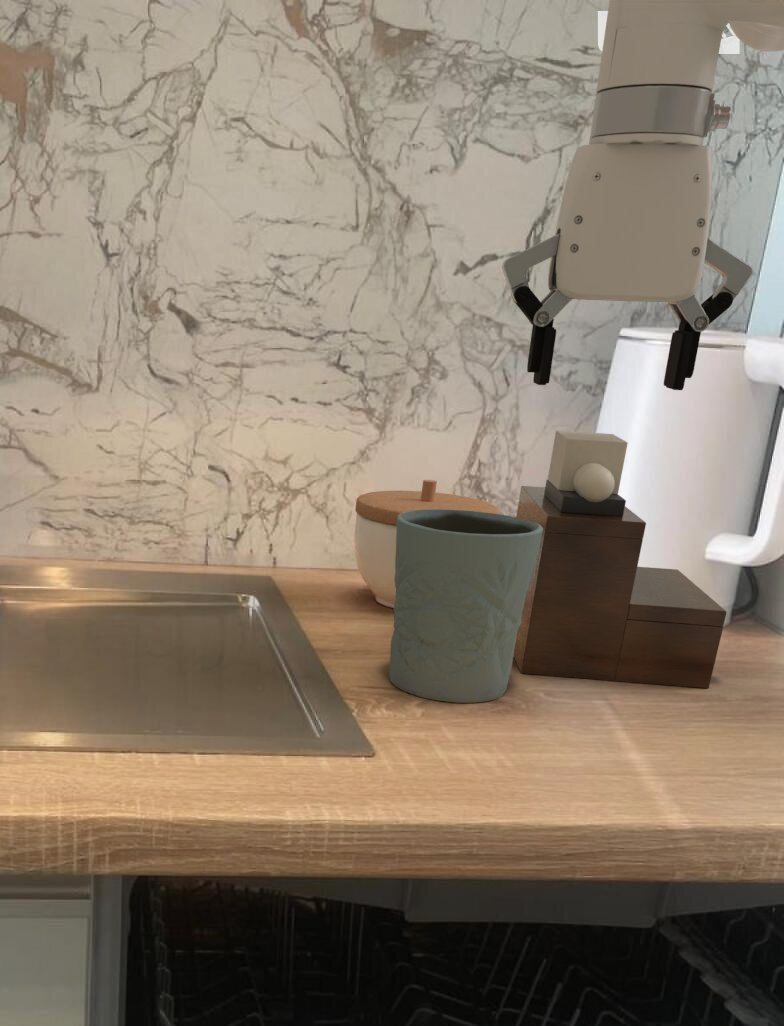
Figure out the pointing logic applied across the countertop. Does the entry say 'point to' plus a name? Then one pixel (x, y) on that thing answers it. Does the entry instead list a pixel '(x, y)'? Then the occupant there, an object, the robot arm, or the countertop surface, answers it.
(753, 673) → the countertop surface
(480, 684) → the grey-green ceramic cup
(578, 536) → the stepped wooden block
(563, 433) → the cream and grey block
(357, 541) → the lidded bowl
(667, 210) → the robot arm
